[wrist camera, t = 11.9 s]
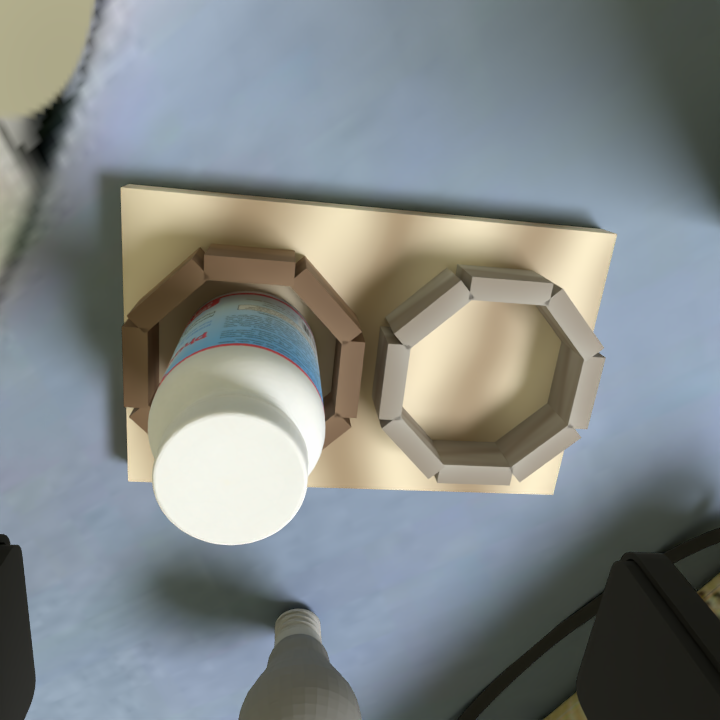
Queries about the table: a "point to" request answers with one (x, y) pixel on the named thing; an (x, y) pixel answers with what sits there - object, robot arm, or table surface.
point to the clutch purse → (570, 713)
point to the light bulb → (299, 677)
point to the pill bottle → (237, 420)
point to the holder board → (385, 329)
